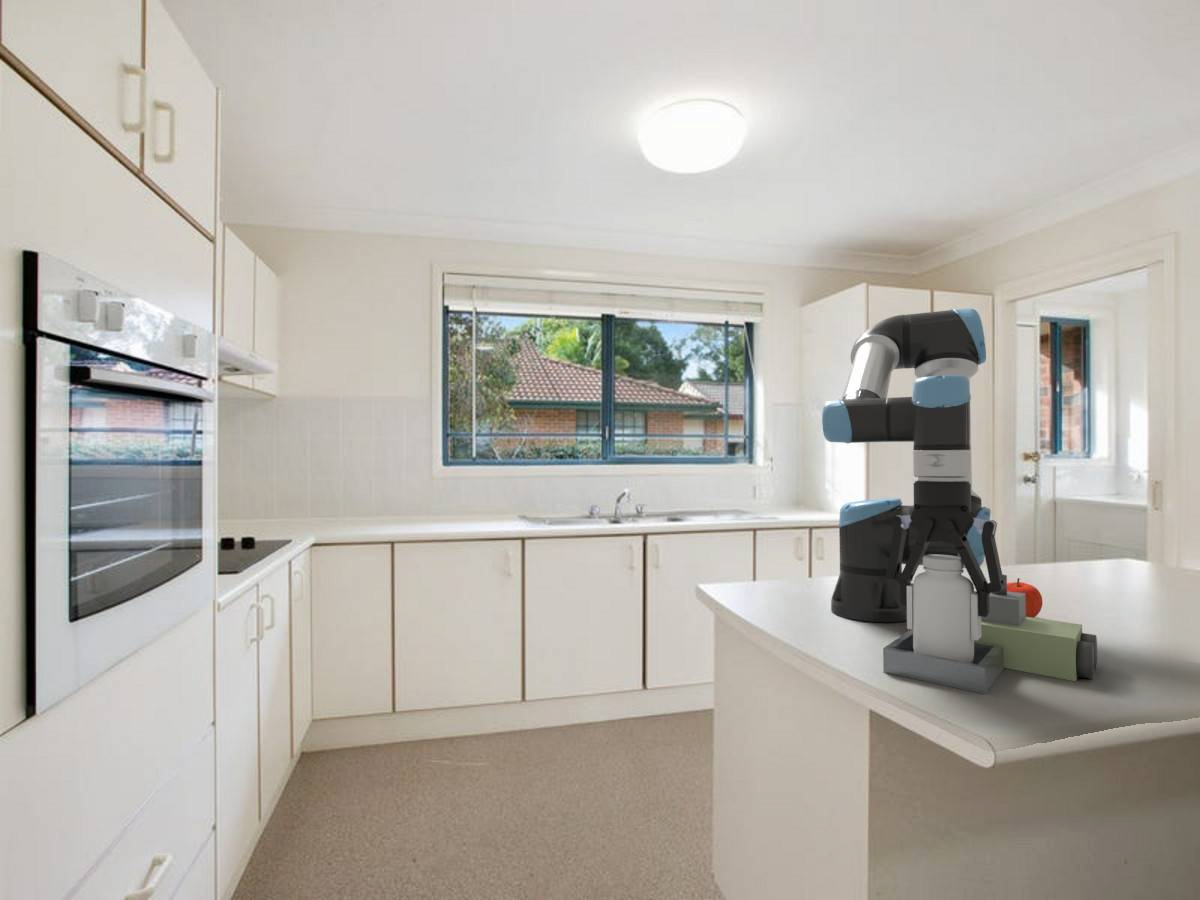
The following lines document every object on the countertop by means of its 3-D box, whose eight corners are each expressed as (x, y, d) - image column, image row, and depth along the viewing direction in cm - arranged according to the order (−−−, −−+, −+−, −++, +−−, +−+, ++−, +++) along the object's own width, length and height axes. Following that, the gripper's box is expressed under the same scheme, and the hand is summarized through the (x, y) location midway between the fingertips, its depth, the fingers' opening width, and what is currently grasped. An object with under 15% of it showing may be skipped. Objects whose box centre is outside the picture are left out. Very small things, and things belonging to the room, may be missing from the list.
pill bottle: (949, 670, 87) (948, 562, 87) (901, 653, 94) (900, 554, 94) (987, 662, 90) (986, 558, 90) (937, 647, 97) (936, 551, 98)
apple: (1045, 618, 122) (1044, 577, 122) (1040, 626, 116) (1039, 583, 116) (998, 611, 128) (997, 572, 128) (990, 619, 122) (990, 578, 122)
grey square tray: (883, 672, 92) (883, 648, 92) (910, 651, 101) (909, 630, 101) (985, 694, 83) (984, 667, 83) (1003, 669, 93) (1003, 646, 93)
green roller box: (923, 652, 101) (922, 572, 101) (941, 637, 109) (940, 563, 109) (1091, 684, 86) (1089, 590, 87) (1097, 664, 95) (1096, 579, 95)
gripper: (861, 478, 97) (863, 625, 96) (1020, 481, 83) (1022, 653, 83) (878, 477, 102) (879, 616, 102) (1029, 480, 88) (1031, 640, 88)
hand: (943, 632), depth 92 cm, fingers closed on pill bottle, 8 cm apart
